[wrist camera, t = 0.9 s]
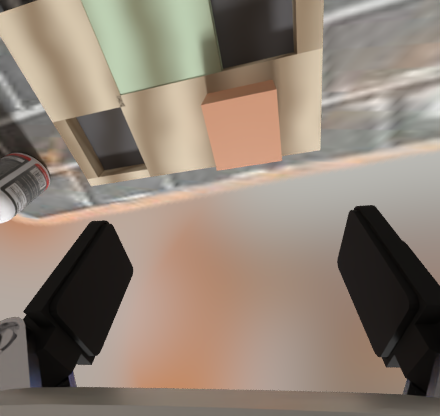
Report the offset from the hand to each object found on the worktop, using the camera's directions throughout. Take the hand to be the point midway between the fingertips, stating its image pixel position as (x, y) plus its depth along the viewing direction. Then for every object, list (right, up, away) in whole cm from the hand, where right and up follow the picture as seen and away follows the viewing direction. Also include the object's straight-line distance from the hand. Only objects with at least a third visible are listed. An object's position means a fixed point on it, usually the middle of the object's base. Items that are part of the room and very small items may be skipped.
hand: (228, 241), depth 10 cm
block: (+2, +10, +14) cm, 17 cm away
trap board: (-5, +14, +14) cm, 21 cm away
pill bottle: (-25, +6, +23) cm, 35 cm away
